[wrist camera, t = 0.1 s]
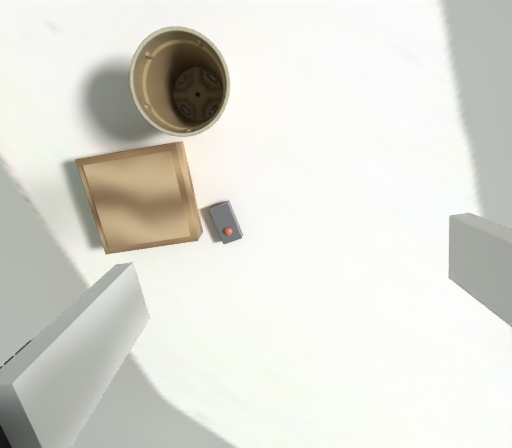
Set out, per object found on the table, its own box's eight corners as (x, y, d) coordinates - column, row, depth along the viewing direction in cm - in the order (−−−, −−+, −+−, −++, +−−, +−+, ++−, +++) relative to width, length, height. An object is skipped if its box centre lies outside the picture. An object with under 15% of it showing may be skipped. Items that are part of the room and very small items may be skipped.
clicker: (211, 206, 41) (208, 210, 39) (229, 200, 41) (227, 203, 39) (225, 239, 43) (223, 245, 40) (242, 233, 42) (241, 238, 40)
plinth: (91, 157, 39) (73, 159, 36) (182, 141, 39) (174, 142, 35) (118, 244, 43) (104, 255, 39) (202, 231, 42) (197, 241, 38)
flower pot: (150, 119, 38) (118, 116, 30) (170, 38, 35) (142, 9, 27) (222, 146, 39) (212, 150, 30) (247, 68, 36) (243, 49, 28)
